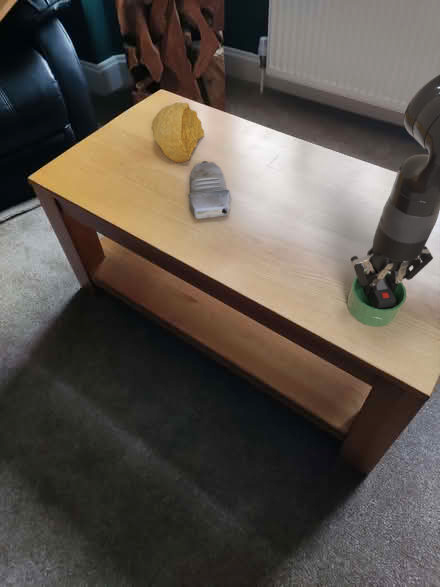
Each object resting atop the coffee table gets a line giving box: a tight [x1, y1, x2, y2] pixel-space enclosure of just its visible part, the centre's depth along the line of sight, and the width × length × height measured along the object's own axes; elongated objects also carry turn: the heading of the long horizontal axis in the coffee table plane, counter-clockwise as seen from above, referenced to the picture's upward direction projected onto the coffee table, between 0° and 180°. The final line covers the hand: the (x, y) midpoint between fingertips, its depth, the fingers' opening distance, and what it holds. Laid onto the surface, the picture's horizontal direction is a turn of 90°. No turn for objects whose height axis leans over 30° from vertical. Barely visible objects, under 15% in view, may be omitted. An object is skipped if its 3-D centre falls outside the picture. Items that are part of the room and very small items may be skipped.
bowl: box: [346, 270, 407, 328], centre depth 79 cm, size 9×9×5 cm
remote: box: [365, 272, 396, 309], centre depth 78 cm, size 7×3×3 cm, turn 8°
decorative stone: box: [151, 102, 205, 163], centre depth 112 cm, size 13×15×15 cm
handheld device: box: [188, 160, 232, 220], centre depth 101 cm, size 10×20×5 cm, turn 6°
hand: (377, 292), depth 78 cm, fingers closed on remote, 3 cm apart
